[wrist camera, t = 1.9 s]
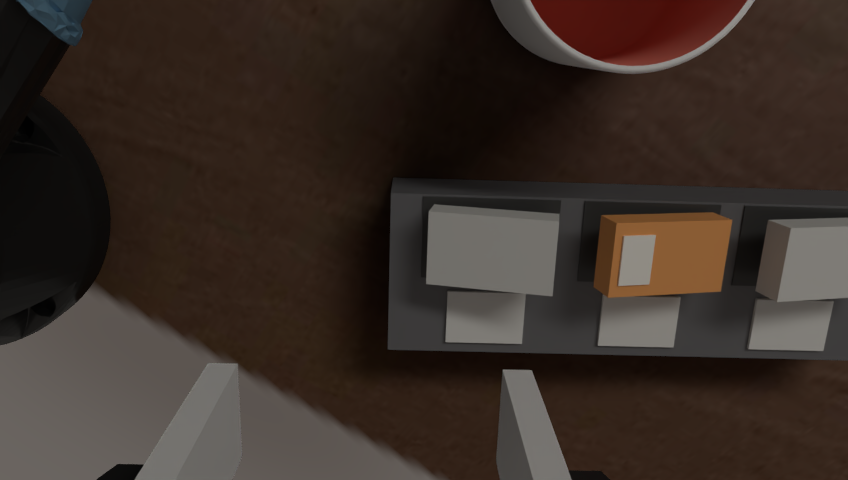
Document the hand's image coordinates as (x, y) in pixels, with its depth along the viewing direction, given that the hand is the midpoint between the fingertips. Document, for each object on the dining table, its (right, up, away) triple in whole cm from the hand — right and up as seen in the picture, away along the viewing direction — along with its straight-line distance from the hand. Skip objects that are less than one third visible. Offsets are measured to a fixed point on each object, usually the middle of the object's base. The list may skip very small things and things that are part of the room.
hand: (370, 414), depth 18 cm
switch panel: (+13, +4, +21) cm, 25 cm away
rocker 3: (+21, +4, +16) cm, 26 cm away
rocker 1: (+5, +4, +15) cm, 16 cm away
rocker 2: (+13, +4, +15) cm, 20 cm away
